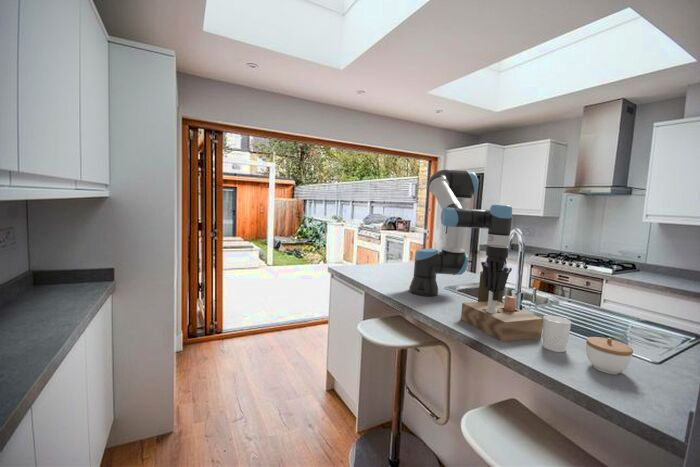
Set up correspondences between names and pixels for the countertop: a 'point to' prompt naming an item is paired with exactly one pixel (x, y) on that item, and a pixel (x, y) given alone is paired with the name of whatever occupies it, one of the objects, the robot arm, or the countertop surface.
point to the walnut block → (502, 321)
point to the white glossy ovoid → (491, 310)
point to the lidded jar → (608, 354)
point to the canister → (486, 291)
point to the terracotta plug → (510, 303)
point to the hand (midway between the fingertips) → (491, 307)
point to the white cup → (555, 333)
